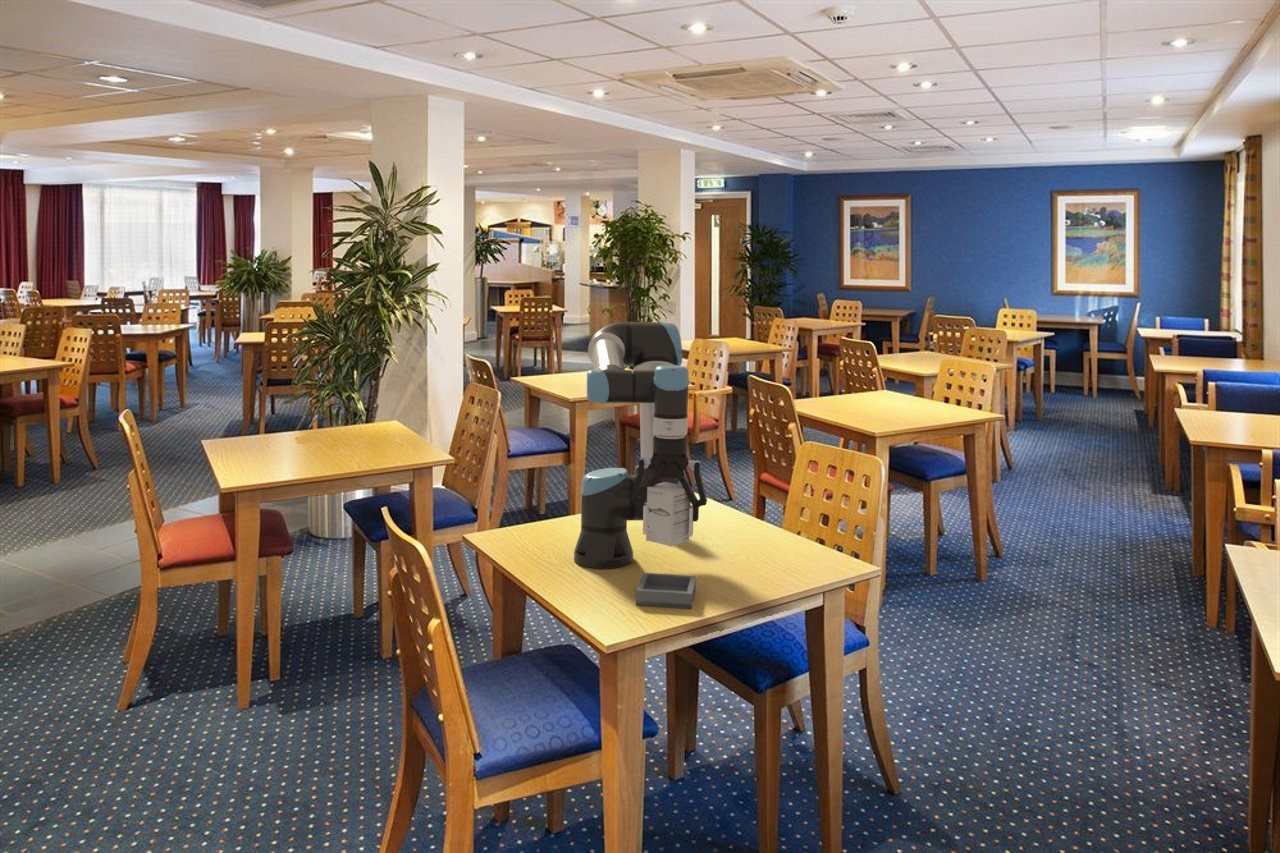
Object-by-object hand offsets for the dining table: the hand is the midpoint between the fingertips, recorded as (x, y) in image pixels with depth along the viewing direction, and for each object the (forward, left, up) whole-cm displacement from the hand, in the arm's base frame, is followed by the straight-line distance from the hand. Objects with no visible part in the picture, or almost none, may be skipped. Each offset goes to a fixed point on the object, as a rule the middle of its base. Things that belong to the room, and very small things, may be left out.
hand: (668, 533), depth 211 cm
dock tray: (0, 0, -15) cm, 15 cm away
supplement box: (0, 0, -2) cm, 2 cm away
